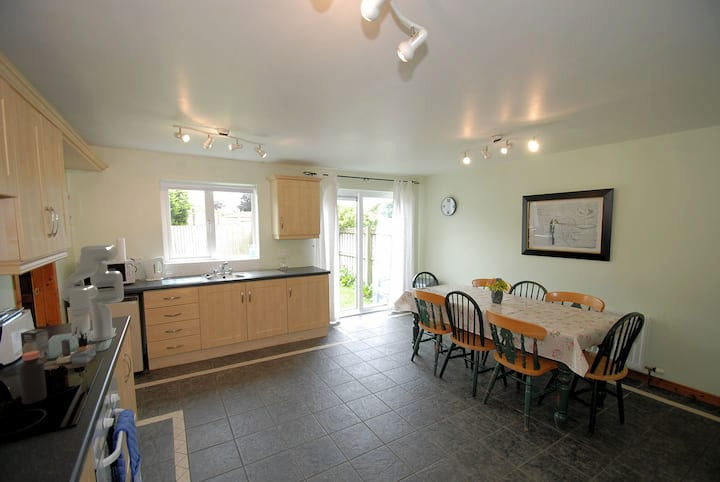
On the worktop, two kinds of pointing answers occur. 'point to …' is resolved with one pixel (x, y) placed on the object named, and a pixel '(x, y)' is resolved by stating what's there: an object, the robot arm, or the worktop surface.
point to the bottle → (32, 378)
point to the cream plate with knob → (65, 352)
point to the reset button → (83, 348)
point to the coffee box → (35, 341)
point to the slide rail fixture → (77, 359)
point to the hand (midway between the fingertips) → (83, 346)
